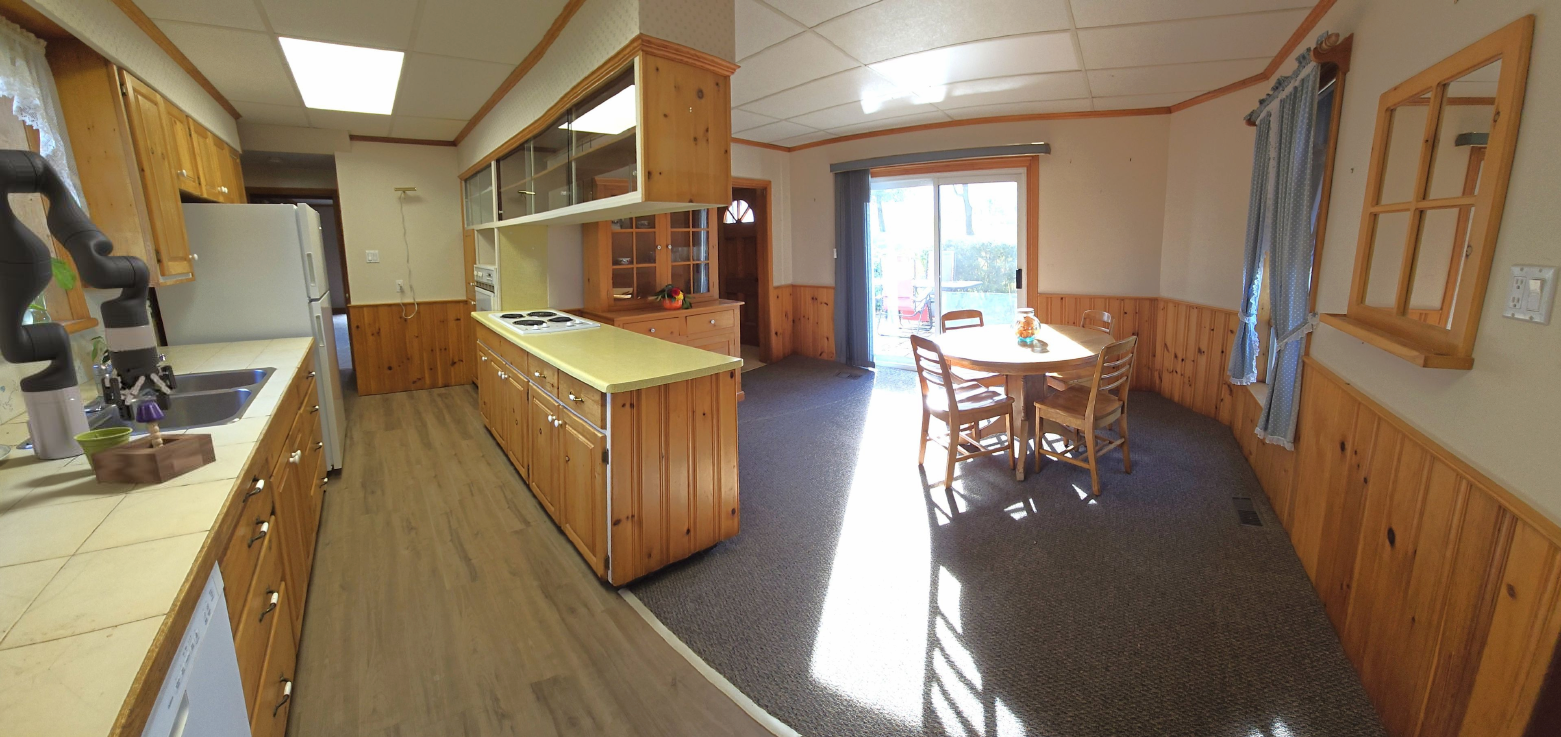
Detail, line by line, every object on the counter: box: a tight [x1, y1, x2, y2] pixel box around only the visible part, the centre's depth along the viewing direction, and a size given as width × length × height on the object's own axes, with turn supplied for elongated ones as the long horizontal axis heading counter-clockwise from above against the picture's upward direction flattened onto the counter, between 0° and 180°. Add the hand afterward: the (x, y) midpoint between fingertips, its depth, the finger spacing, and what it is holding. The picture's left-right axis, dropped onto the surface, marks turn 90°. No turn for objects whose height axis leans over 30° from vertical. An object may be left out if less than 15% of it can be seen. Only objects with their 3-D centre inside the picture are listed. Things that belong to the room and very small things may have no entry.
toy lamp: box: [135, 401, 165, 448], centre depth 143 cm, size 5×5×17 cm
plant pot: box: [74, 427, 133, 472], centre depth 146 cm, size 9×9×9 cm
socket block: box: [91, 433, 217, 484], centre depth 144 cm, size 14×14×7 cm
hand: (147, 415), depth 142 cm, fingers open, 8 cm apart
